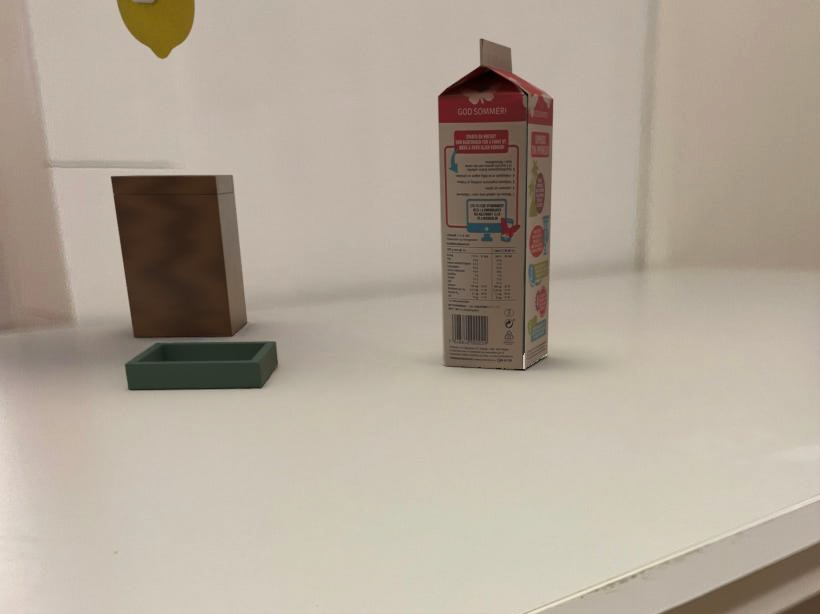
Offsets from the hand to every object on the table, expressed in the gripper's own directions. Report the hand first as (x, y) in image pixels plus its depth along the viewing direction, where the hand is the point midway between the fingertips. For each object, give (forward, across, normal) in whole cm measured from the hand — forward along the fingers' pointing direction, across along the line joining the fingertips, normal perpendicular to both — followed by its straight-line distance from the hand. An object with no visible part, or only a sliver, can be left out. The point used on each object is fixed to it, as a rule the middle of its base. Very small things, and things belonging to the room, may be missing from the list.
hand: (156, 10), depth 74 cm
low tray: (+25, +11, +3) cm, 27 cm away
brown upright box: (+25, -14, -3) cm, 28 cm away
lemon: (+3, 0, 0) cm, 3 cm away
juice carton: (+25, +6, +25) cm, 36 cm away
